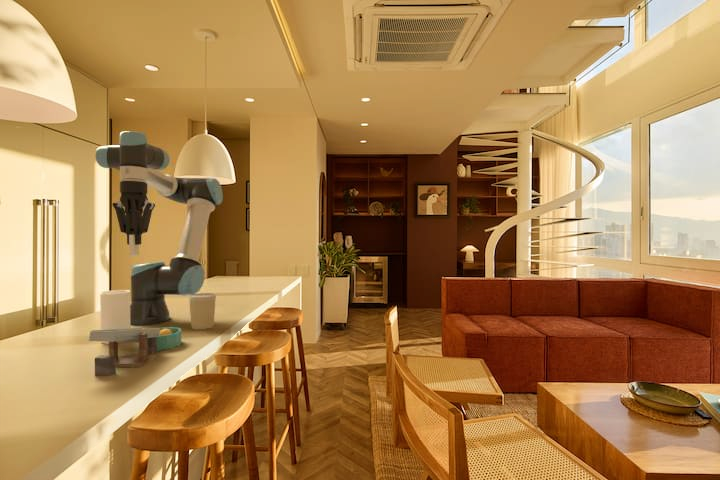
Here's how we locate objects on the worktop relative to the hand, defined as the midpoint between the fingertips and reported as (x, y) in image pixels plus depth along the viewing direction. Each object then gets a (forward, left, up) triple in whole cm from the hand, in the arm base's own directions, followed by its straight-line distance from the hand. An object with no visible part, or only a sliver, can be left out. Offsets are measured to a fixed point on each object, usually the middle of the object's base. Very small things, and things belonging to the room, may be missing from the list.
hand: (134, 254), depth 120 cm
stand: (+17, +10, -28) cm, 35 cm away
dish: (+2, +10, -28) cm, 30 cm away
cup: (-2, -8, -29) cm, 30 cm away
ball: (0, +10, -26) cm, 28 cm away
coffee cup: (-21, +12, -29) cm, 37 cm away
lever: (+18, +8, -23) cm, 30 cm away
